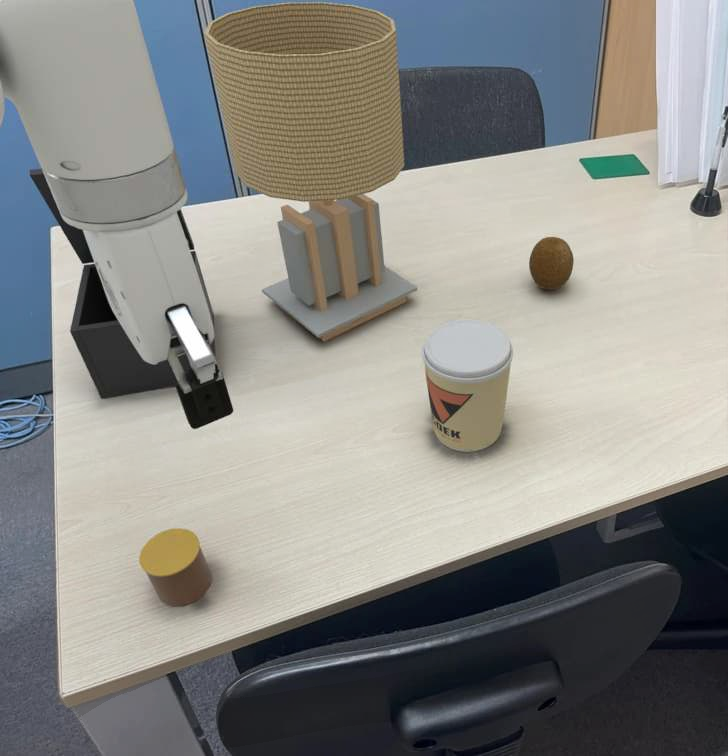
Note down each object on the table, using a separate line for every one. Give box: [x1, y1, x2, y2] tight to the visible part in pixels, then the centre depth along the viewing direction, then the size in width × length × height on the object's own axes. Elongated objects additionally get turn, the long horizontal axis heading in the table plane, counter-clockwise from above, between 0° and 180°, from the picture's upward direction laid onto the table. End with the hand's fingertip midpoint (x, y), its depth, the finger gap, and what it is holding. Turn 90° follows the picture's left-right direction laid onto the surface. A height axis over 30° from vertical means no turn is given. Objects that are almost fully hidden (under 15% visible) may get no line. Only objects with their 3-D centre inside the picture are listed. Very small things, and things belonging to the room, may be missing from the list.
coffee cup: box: [421, 318, 514, 453], centre depth 76 cm, size 9×9×12 cm
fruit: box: [528, 236, 575, 290], centre depth 100 cm, size 6×6×8 cm
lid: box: [29, 168, 195, 265], centre depth 81 cm, size 14×13×5 cm
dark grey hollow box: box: [69, 250, 216, 400], centre depth 85 cm, size 14×13×10 cm
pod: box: [139, 527, 213, 607], centre depth 63 cm, size 5×5×5 cm
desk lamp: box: [203, 1, 418, 343], centre depth 86 cm, size 20×20×35 cm
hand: (188, 384), depth 56 cm, fingers open, 9 cm apart
